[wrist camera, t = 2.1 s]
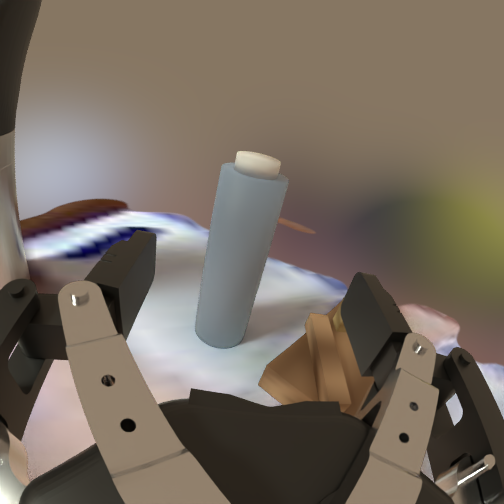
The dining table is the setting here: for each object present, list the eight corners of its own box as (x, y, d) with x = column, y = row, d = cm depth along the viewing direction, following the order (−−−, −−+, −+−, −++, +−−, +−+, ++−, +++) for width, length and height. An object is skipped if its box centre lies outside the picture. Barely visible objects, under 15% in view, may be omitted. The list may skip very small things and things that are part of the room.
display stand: (247, 383, 23) (264, 339, 20) (329, 314, 34) (348, 275, 31) (384, 481, 15) (431, 453, 12) (428, 379, 26) (457, 344, 23)
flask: (185, 324, 28) (210, 147, 19) (220, 306, 31) (256, 148, 23) (218, 356, 25) (263, 168, 17) (253, 333, 29) (305, 168, 20)
